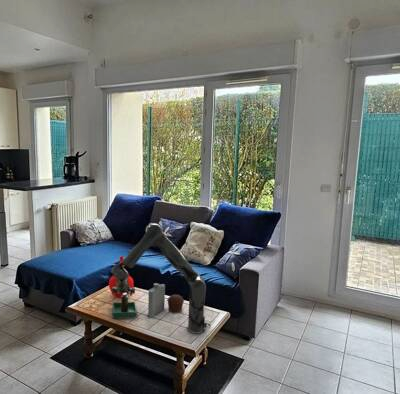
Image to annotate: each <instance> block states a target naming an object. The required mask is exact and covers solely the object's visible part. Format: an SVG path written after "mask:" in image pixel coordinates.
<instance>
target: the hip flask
mask: <svg viewBox="0 0 400 394" xmlns="http://www.w3.org/2000/svg"><path fill="white" fill-rule="evenodd" d="M165 298H166V284H164V283H161V284H160V283H158V282H155V283H153V287H152V288H150V289H148V303H147V304H148V305H147V307H148V308H147V312H148V313H147V317H148V318H153V317H155V315H156V314H159V313H161V312H162V311H164V310H165V302H166V301H165Z"/></svg>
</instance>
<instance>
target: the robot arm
mask: <svg viewBox="0 0 400 394" xmlns="http://www.w3.org/2000/svg"><path fill="white" fill-rule="evenodd" d="M143 235H144V236H143V237H142V239H140V241H139V242H137V244H136V245H135V246H133V248H132V249H131V250H130V251H129V252H128V253H127V254H126V256H125V257H123V260H122V261H121V262H120V261H119V262H118V263H117V264H116V265H114V266H113V267H112V268H111V275H112V276H115V277H116V286H117V287H115V286H113V293H116V294H117V295H119V293H120V292H121V293H128V294H129V293H130V294H129V296H130V297H132V296H133V295H135V294H136V289H135V286H133V287H132V288H130V287H129V284H128V280H127V279H128V277H129V276H130V273H129V272H128V270H126V268H124V267H127V268H130V269H132V268H134V266H135V265H136V264H137V263H138V262H139V260H140V259H141V258H142V257H143V255H144V254H145V253H146V252H147V250H148V249H150V247H151V246H152V245H153V244H154V243H155V244H156V245H157V246H158V249H160V251H161V253H162V255H163V256H164V257H165V258H166V260H167V261H168V263H169V264H170V265H171V267H172V268H173V269H174V270H176V271H178V272H179V273H180V274H181V275H182V276H183V277H184V279H185V280H186V282H187V283H188V285H189V298H188V315H187V316H188V317H187V318H188V319H187V330H188V331H189V332H190V333H191V334H201V333H203V332H205V328H207V327H209V328H210V327H211V324H210V323H208V322H207V320H206V318H205V302H206V292H207V285H206V282H205V279H204V278H203V277H202V275H200V274H199V273H198V272H197V271H196V270H195V269H194V268H193V267H192V265H191V264H190V262H189V261H188V260H187V258H186V257H185V255H184V254H183V252H182V251H181V250H180V249H179V248H178V247H177V246H176V245H175V244H174V243H173V242H172V241H171V240H170V239H169V238H168V237H167V236H166V234H165V232H164V231H163V228H162V226H161V225H159V224H158V223H156V222H150V223H148V225H146V227H145V234H143Z"/></svg>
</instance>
